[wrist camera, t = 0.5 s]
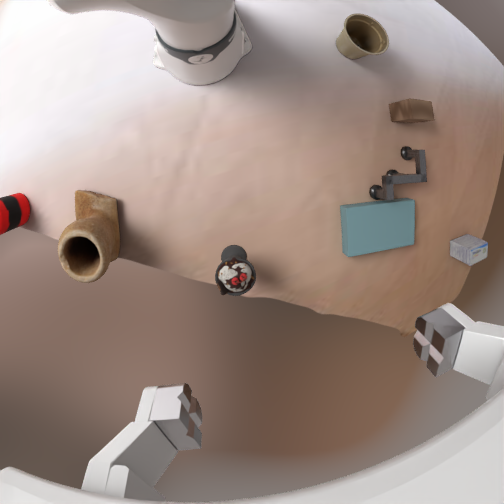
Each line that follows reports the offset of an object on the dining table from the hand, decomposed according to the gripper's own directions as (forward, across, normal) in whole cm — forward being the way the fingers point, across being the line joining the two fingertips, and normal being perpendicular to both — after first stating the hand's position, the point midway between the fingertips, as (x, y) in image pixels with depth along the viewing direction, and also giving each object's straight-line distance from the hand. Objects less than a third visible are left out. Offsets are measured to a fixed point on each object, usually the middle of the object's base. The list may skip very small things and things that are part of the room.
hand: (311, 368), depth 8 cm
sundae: (+46, +4, +12) cm, 47 cm away
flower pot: (+46, -29, -27) cm, 61 cm away
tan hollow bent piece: (+46, +28, -2) cm, 54 cm away
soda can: (+46, +50, -12) cm, 69 cm away
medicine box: (+46, -54, +24) cm, 75 cm away
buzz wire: (+46, -32, +2) cm, 56 cm away
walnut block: (+46, -38, -11) cm, 60 cm away
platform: (+46, -27, +12) cm, 54 cm away
